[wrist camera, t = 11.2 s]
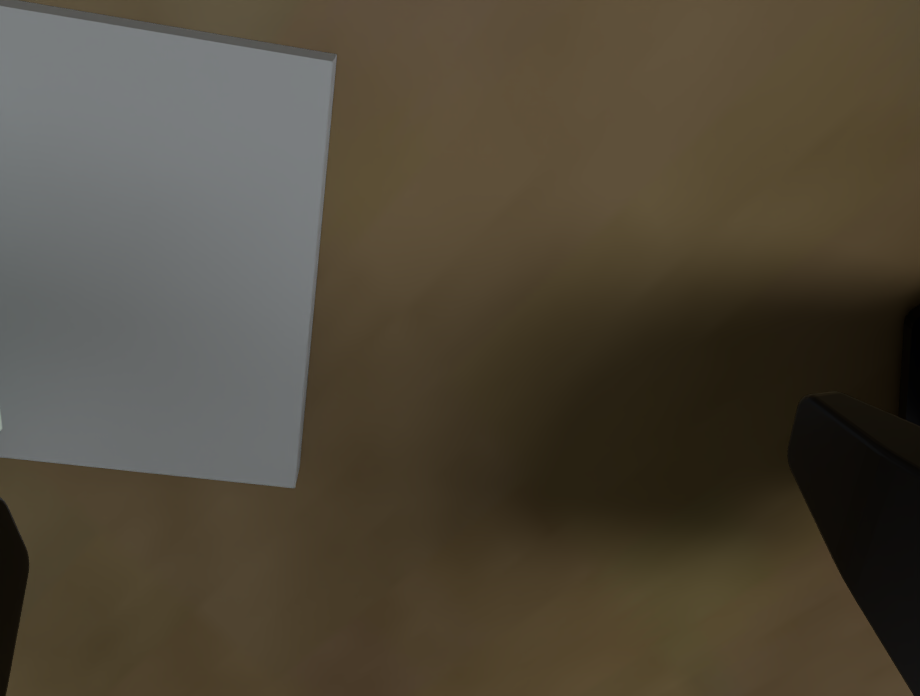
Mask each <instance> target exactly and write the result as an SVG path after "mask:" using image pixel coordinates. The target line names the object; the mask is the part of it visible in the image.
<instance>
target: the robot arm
mask: <svg viewBox="0 0 920 696" xmlns="http://www.w3.org/2000/svg"><path fill="white" fill-rule="evenodd" d="M788 462H789V466H790V469H791V472H792V474H793V476H794V478H795V480H796V482H797V484H798V486H799V489H800V491H801V493H802V495H803V497H804V499H805V501H806V503H807V505H808V508H809V510H810V512H811V514H812V516H813V518H814V520H815V522H816V524H817V527H818V529H819V531H820V533H821V535H822V537H823V539H824V541H825V543H826V546H827V548H828V550H829V552H830V554H831V556H832V558H833V560H834V562H835V564H836V566H837V568H838V570H839V572H840V574H841V576H842V578H843V580H844V581H845V583H846V585H847V586H848V588H849V590H850V592H851V593H852V595H853V597H854V598H855V600H856V602H857V603H858V605H859V607H860V608H861V610H862V612H863V613H864V615H865V616H866V618H867V620H868V621H869V623H870V625H871V626H872V628H873V630H874V631H875V633H876V634H877V636H878V638H879V639H880V641H881V643H882V644H883V646H884V648H885V649H886V651H887V652H888V654H889V656H890V657H891V659H892V661H893V662H894V664H895V666H896V667H897V669H898V671H899V672H900V674H901V675H902V677H903V679H904V680H905V682H906V684H907V685H908V687H909V689H910V690H911V692H912V693H913V695H914V696H920V305H919V306H916V307H915V308H914V309H912V310H911V311H910V312H909V313H908V315H907V316H906V318H905V322H904V333H903V349H902V366H901V383H900V400H899V417H897V416H895V415H893V414H890V413H888V412H886V411H883V410H881V409H879V408H876V407H874V406H872V405H869V404H867V403H865V402H862V401H860V400H858V399H855V398H853V397H851V396H848V395H846V394H844V393H841V392H837V391H831V392H823V393H815V394H808V395H806V396H804V397H803V398H802V399H801V400H800V402H799V404H798V407H797V411H796V415H795V419H794V424H793V428H792V432H791V436H790V441H789V445H788ZM28 573H29V557H28V552H27V549H26V546H25V544H24V542H23V540H22V537H21V535H20V533H19V531H18V528H17V526H16V524H15V522H14V519H13V517H12V515H11V513H10V510H9V508H8V506H7V504H6V503H5V501H4V500H3V499H2V498H0V696H6V691H7V687H8V682H9V677H10V671H11V666H12V660H13V655H14V649H15V644H16V638H17V633H18V628H19V622H20V617H21V611H22V606H23V600H24V595H25V589H26V584H27V578H28Z"/></svg>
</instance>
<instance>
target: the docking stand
mask: <svg viewBox="0 0 920 696" xmlns="http://www.w3.org/2000/svg"><path fill="white" fill-rule="evenodd" d="M336 60H337V54H332V53H326V52H320V51H314V50H308V49H302V48H296V47H290V46H284V45H278V44H273V43H267V42H261V41H255V40H249V39H243V38H237V37H231V36H225V35H219V34H213V33H207V32H201V31H196V30H190V29H184V28H178V27H172V26H166V25H160V24H154V23H148V22H142V21H136V20H130V19H125V18H119V17H113V16H107V15H101V14H95V13H89V12H83V11H77V10H71V9H65V8H59V7H54V6H48V5H42V4H36V3H30V2H24V1H18V0H0V457H3V458H13V459H22V460H32V461H41V462H51V463H60V464H69V465H79V466H88V467H98V468H107V469H117V470H126V471H136V472H145V473H155V474H164V475H174V476H183V477H192V478H202V479H211V480H221V481H230V482H240V483H249V484H259V485H268V486H278V487H287V488H295V485H296V481H297V476H298V471H299V467H300V456H301V445H302V434H303V423H304V412H305V401H306V390H307V379H308V368H309V357H310V346H311V335H312V324H313V313H314V302H315V291H316V280H317V269H318V258H319V247H320V236H321V225H322V214H323V203H324V192H325V181H326V170H327V159H328V148H329V137H330V126H331V115H332V104H333V93H334V82H335V71H336Z"/></svg>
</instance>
